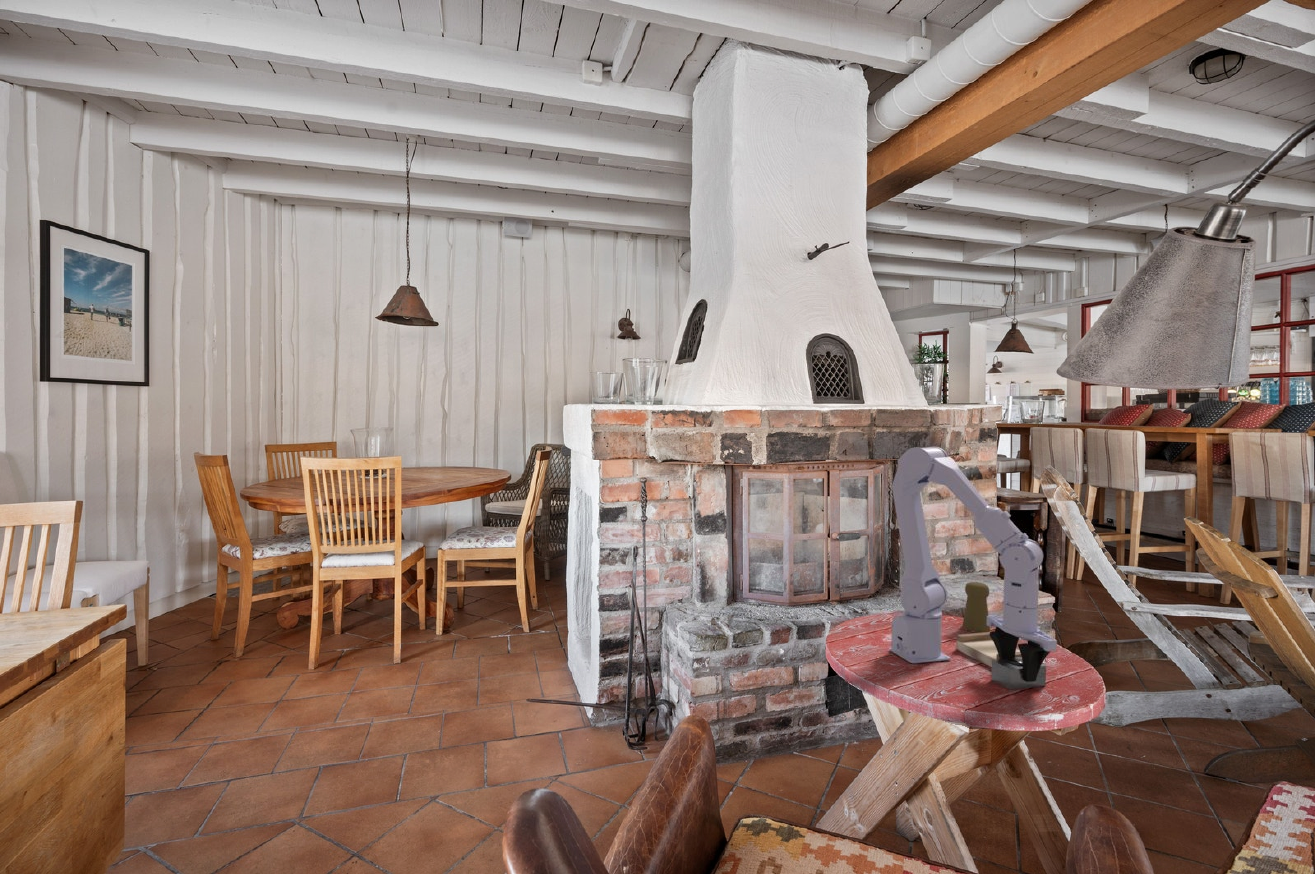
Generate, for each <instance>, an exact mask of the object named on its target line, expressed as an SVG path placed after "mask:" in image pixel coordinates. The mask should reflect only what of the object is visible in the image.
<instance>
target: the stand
mask: <svg viewBox="0 0 1315 874" xmlns="http://www.w3.org/2000/svg"><path fill="white" fill-rule="evenodd" d="M990 632H991V631H990ZM990 632H984V633H979V632H973V633H963V634H962V633H961V634H956V650H957V651H958V652H961V653H963V654H964V655H967V656H969V657H971V658H972V659H974V660H976V661H977V662H980V663H982V664H985V665H986V666H988V667H990V668H992V660H998V659H999V655H998V652H997V649H996V646H995V644H994V642H993V640H992V638H991V637H990ZM1017 657H1021V653H1020V650H1019V648H1016V653H1015V658H1017Z"/></svg>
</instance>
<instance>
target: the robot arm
mask: <svg viewBox="0 0 1315 874" xmlns="http://www.w3.org/2000/svg"><path fill="white" fill-rule="evenodd" d="M897 465H898V466H897V470H896V473H895V474H894V475H895V476H894V478H893V482H892V487H891V488H892V495H893V501H894V506H895V513H896V519H897V524H898V531H899V535H900V541H901V542H900V543H901V548H902V555H903V559H904V567H905V569H904V573H903V574H902V576H901V580H900V582H901V590H900V593H899V594H900V595H899V600H900V605H901V607H902V608H903V609H904V611H903V613H901V614H898V615H895V616H893V618H892V621H891V641H890V642H891V643H890V644H891V645H890V647H889V648H888V650H889V651H890V652H892V653H894V654H895V655H897V656H899V657H901V658H902V659H904V660H905V661H907V662H908V663H911V664H921V663H931V662H941V661H950V660H951V657H950V656H949V655H946V654H945V653H944V652H942V624H943V620H942V619H943V613H942V612H943V611H942V606H944V604H945V603H946V602H947V600H948V592H947V589H946V586H944V584H943V582H942V581H941V578H940V572H939V571H938V570H937V569H936V568H935V567H934V565H933V562H932V560H933V559H932V555H931V548H930V543H929V538H928V532H927V527H926V522H925V521H926V520H925V515H924V509H923V503H922V502H923V501H922V498H921V491H922V490H924V488H925V487H926V486H927V485H928V484H929V482H932V483H935V484H939V485H942V486H945V487H947V489H948V490H949V491H950V492H951V493H952V494H953V495H954V496H955V498H957V499H958V500H959V501H960V502H961V503H962V504H963V505H964V506H965V508H966V509H968V511H970V513H971V514H972V515H973V517H974V520H973V521H974V522H973V523H974V527H975V528H976V529H977V531H978V532H979V533H980V534H981V535H982V536H983V537H984V538H985V540H986V541H987V542H988V543H989V544H990V545H991V546H992V548H993V549H994V550H995V551H996V552H997V553H998V554H1000V555H999V557H998V558H999V563H1000V565H1001V566H1002V567H1003V569H1004V575H1003V576H1004V578H1003V600H1002V601H1003V602H1002V606H1003V607H1002V617H1001V616H998V615H995V614H993V615H989V616H987V626H990V628H995V629H994V631H990V637H991V638H992V640H993V642H994V644H995V646H996V649H997V652H998V655H999V659H1008V658H1015V653H1016V649H1017V647H1018V649H1019V650H1020V653H1021V657H1022V663H1023V678H1024V681H1026V682H1033V681H1036V678H1037V675H1038V672H1039V669H1040V667H1041V665H1042V664H1043V662H1044V661H1045V659H1046V658H1047V657H1048V655H1049V654H1050V652H1055V651H1056V652H1057V648H1058V640H1057V639H1055V638H1053V637H1051V636H1050V635H1048V634H1046V633H1044V631H1042V630H1041V626H1038V623H1039V620H1038V619H1039V617H1038V615H1039V591H1040V589H1039V588H1040V585H1039V584H1040V582H1039V574H1040V573H1039V572H1040V571H1039V566H1040V565H1041V564H1042V563H1043V559H1044V552H1043V550H1042V548H1041V547H1040V545H1039V543H1038V541H1035V540H1032V539H1030V538H1029V536H1028V535H1027V533H1025V532H1024V533H1023V532H1022V531H1021V530H1020V529H1019V528H1018V527H1017V526H1016V525H1015V524H1014V522H1013V521H1012V520H1011V519H1010V517H1011V516H1012V515H1011V514H1010V513H1009V511H1008V510H1005V511H1003V510H1002V509H1001V508H1000V507H994V506H991V505H990V504H988V502H986V500H985V499H984V498H983V496H982V495H981V494H980V492H979V491H978V490H977V489H976V488H975V486H974V485H973V484H972V482H971V481H970V480H969V479H968V478H967V476H966V475H965V473H964V472H963V471H962V470H961V469H960V468H959V465H958V464H957V463H956V461H955V460H954V459H953V458H952V457H951V456H949V455H948V453H947V452H946V451H945V450H944V449H943V448H941V447H938V446H927V447H916V446H915V447H911V448H909V449H907V450H906V451H905V452H904V453H903V454H902V455H901V456H900V457H899V458H898V459H897ZM1020 639H1022V640H1023V641H1025V642H1026V643H1019V641H1020Z"/></svg>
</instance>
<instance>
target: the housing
mask: <svg viewBox="0 0 1315 874" xmlns="http://www.w3.org/2000/svg"><path fill="white" fill-rule="evenodd" d="M990 675H991V677H990V679H991V681H993V682H995V683H997V684H999V685H1000V686H1002V687H1004V688H1005V689H1007V690H1010V691H1015V690H1021V689H1030V688H1037V687H1038V688H1039V687H1046V683H1047V682H1046V681H1047V679H1046V678H1047V665H1046V664H1043V663H1042V665H1041V667H1040V669H1039V672H1038V675H1037V678H1036V681H1033V682H1026V681H1024V678H1023V663H1022V657H1017V658H1008V659H998V660H992V667H991V674H990Z"/></svg>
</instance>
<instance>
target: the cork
mask: <svg viewBox="0 0 1315 874" xmlns="http://www.w3.org/2000/svg"><path fill="white" fill-rule="evenodd" d="M964 591H965V594H966V596H967V598H966V602H965V608H964V609H965V610H964V614H963V621H962V626H961V627H962V629H964V630H966V631H970V632H973V633H984V632H991V627H990V626H987V616H990V615H989V609H988V599H987V598H988V597H989V595H990V588H989V586H988V585H987V584H986V583H983V582H979V581H968V582H966V584H965V586H964Z"/></svg>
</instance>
